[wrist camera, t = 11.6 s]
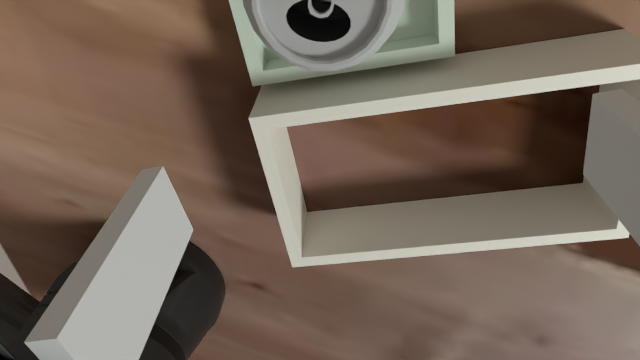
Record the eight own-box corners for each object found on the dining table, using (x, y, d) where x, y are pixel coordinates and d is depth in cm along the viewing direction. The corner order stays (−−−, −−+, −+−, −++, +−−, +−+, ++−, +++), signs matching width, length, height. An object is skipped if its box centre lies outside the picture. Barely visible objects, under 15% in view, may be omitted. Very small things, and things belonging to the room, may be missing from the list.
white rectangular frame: (299, 221, 43) (292, 267, 38) (262, 83, 35) (248, 118, 30) (593, 191, 39) (628, 237, 34) (624, 28, 31) (675, 58, 27)
